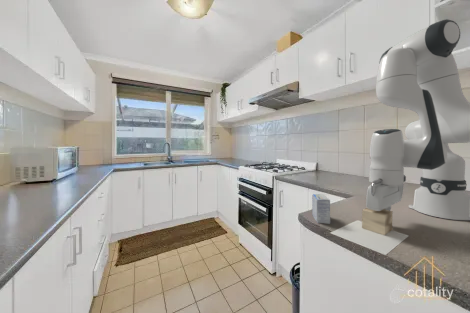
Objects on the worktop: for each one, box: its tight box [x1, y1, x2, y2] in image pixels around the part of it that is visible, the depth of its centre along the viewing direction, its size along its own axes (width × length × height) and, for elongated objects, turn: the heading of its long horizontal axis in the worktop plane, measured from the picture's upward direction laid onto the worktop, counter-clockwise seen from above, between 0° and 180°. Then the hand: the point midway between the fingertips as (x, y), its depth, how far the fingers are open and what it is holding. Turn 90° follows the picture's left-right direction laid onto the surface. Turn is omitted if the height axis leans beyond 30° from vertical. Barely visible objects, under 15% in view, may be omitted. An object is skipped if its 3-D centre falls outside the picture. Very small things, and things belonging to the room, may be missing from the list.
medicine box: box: [311, 193, 331, 225], centre depth 67 cm, size 8×4×9 cm, turn 168°
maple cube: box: [361, 207, 394, 235], centre depth 58 cm, size 6×6×6 cm
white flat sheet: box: [330, 219, 409, 256], centre depth 55 cm, size 18×14×1 cm
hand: (384, 218), depth 61 cm, fingers closed
